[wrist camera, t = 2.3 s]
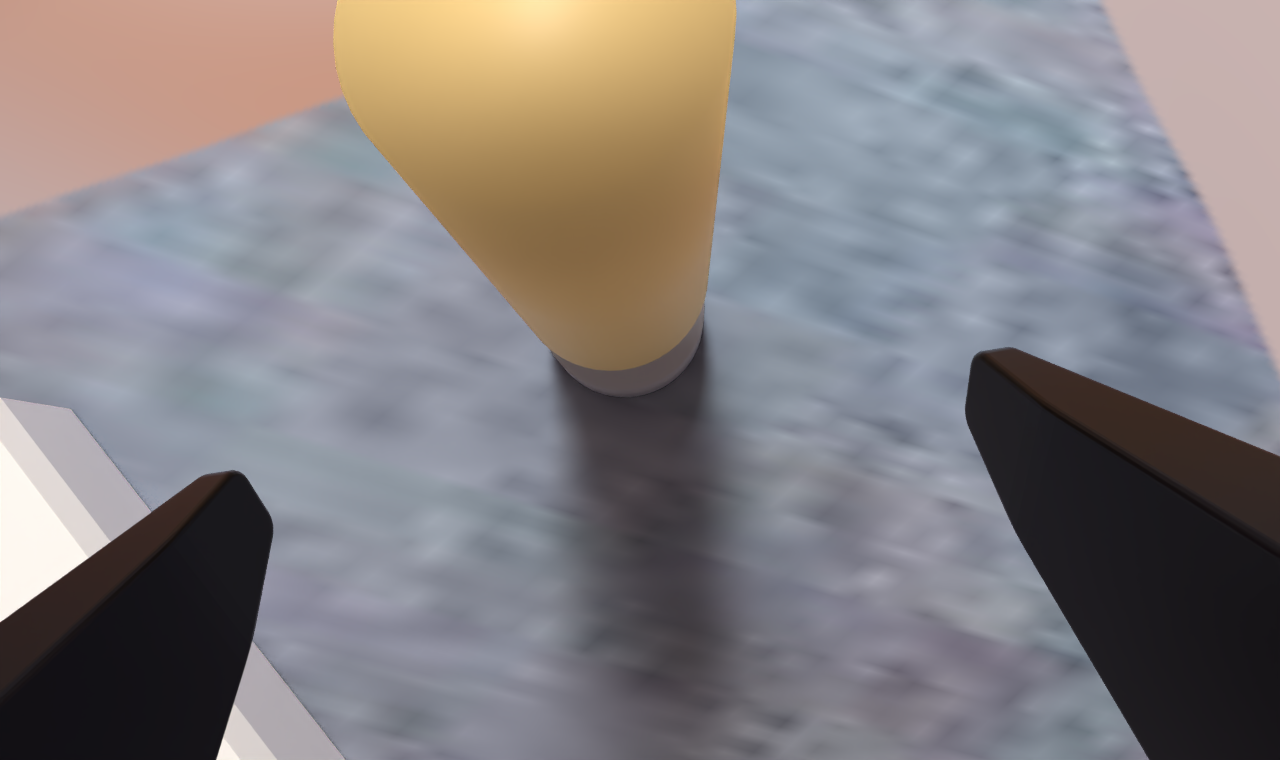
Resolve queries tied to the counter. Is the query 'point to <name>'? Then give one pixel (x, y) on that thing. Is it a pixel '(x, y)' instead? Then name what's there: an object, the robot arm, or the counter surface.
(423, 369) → the counter surface
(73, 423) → the keyhole plate
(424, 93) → the headed peg
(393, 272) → the counter surface
